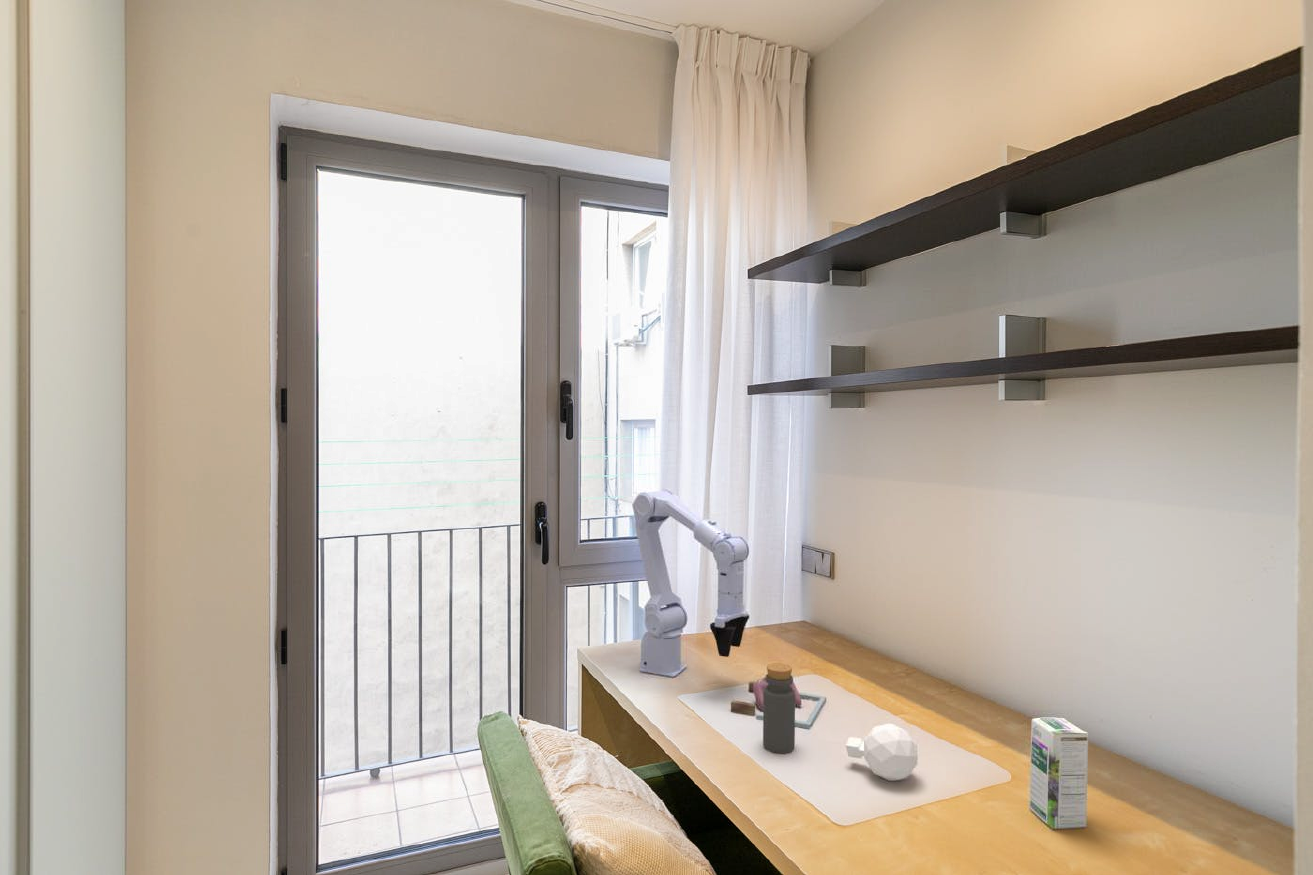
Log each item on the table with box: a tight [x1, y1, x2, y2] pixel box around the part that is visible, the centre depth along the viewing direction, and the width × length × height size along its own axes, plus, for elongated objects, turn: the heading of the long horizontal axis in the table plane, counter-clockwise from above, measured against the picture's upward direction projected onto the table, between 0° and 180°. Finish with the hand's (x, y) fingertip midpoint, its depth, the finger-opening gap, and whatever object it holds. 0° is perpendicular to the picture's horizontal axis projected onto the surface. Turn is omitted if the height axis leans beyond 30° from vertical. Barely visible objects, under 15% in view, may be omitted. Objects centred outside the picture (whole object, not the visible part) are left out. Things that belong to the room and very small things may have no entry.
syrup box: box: [1029, 716, 1089, 830], centre depth 106 cm, size 6×6×14 cm
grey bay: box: [755, 691, 827, 730], centre depth 147 cm, size 11×16×1 cm
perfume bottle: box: [845, 722, 919, 782], centre depth 120 cm, size 9×9×12 cm
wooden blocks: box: [730, 681, 757, 716], centre depth 151 cm, size 5×13×2 cm, turn 155°
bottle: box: [762, 662, 796, 754], centre depth 130 cm, size 6×6×15 cm
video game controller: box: [752, 677, 802, 712], centre depth 150 cm, size 10×5×7 cm, turn 104°
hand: (729, 650), depth 157 cm, fingers open, 7 cm apart
